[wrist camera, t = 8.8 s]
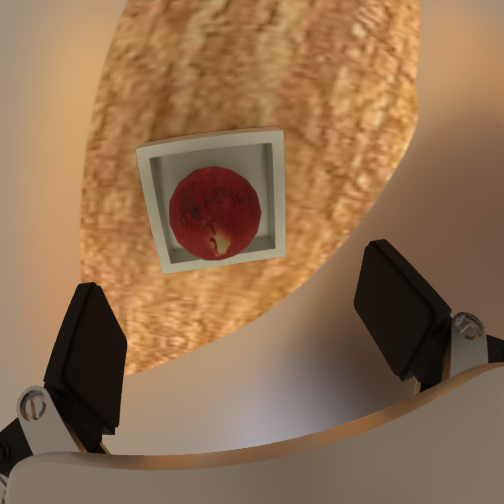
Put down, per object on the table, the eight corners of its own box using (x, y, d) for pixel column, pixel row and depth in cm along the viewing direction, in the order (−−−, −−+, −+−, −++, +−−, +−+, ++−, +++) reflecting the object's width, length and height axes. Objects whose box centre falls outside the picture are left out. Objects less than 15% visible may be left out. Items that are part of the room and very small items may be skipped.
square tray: (143, 142, 18) (135, 148, 16) (272, 126, 20) (283, 130, 17) (165, 255, 23) (162, 274, 21) (276, 239, 24) (285, 255, 22)
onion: (157, 190, 20) (137, 240, 13) (218, 141, 19) (231, 164, 12) (206, 242, 23) (212, 308, 16) (264, 199, 22) (296, 251, 15)
